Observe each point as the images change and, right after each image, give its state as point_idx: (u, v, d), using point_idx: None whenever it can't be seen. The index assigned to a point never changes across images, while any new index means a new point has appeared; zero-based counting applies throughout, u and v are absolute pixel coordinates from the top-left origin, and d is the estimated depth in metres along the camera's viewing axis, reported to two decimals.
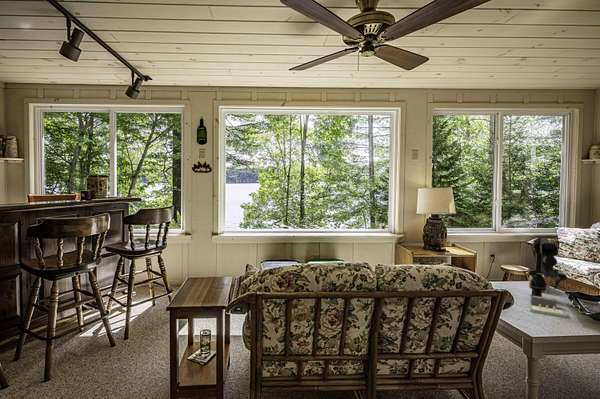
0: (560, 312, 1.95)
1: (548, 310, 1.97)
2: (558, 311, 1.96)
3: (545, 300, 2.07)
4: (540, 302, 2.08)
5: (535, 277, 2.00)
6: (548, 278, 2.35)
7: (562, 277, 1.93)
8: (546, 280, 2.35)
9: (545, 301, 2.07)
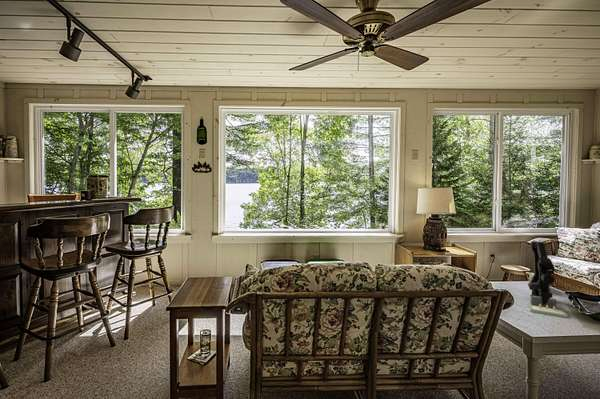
0: (560, 312, 1.95)
1: (548, 310, 1.97)
2: (558, 311, 1.96)
3: None
4: (540, 302, 2.08)
5: (538, 292, 2.14)
6: None
7: (539, 293, 2.05)
8: None
9: None
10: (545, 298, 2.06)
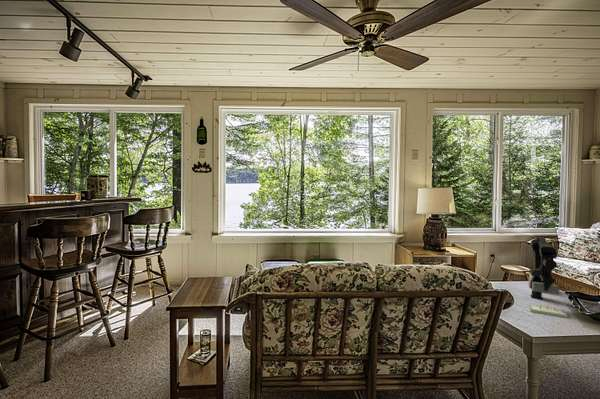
0: (560, 312, 1.95)
1: (548, 310, 1.97)
2: (558, 311, 1.96)
3: None
4: (542, 288, 2.05)
5: (540, 278, 2.10)
6: None
7: (542, 278, 2.01)
8: None
9: None
10: (547, 284, 2.02)
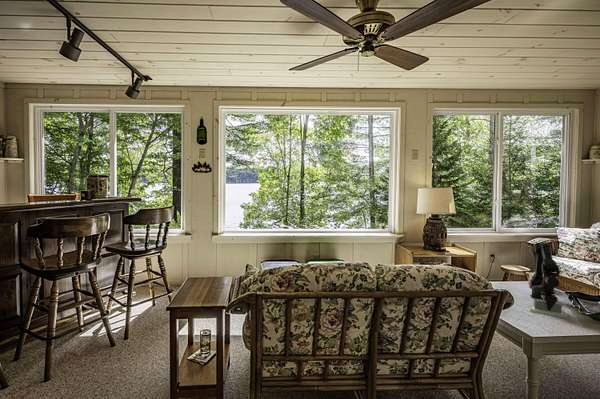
0: None
1: None
2: None
3: None
4: (544, 306, 1.97)
5: (541, 294, 2.04)
6: None
7: (544, 296, 1.93)
8: None
9: None
10: (550, 303, 1.93)
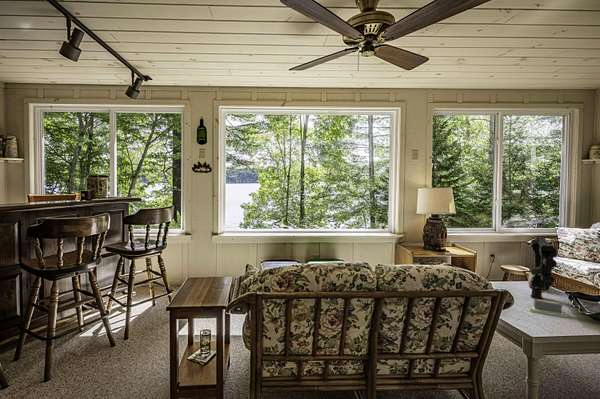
0: None
1: None
2: None
3: (549, 304, 1.96)
4: (544, 306, 1.97)
5: (539, 276, 2.13)
6: None
7: (541, 277, 2.01)
8: None
9: (549, 305, 1.96)
10: (548, 283, 2.01)
